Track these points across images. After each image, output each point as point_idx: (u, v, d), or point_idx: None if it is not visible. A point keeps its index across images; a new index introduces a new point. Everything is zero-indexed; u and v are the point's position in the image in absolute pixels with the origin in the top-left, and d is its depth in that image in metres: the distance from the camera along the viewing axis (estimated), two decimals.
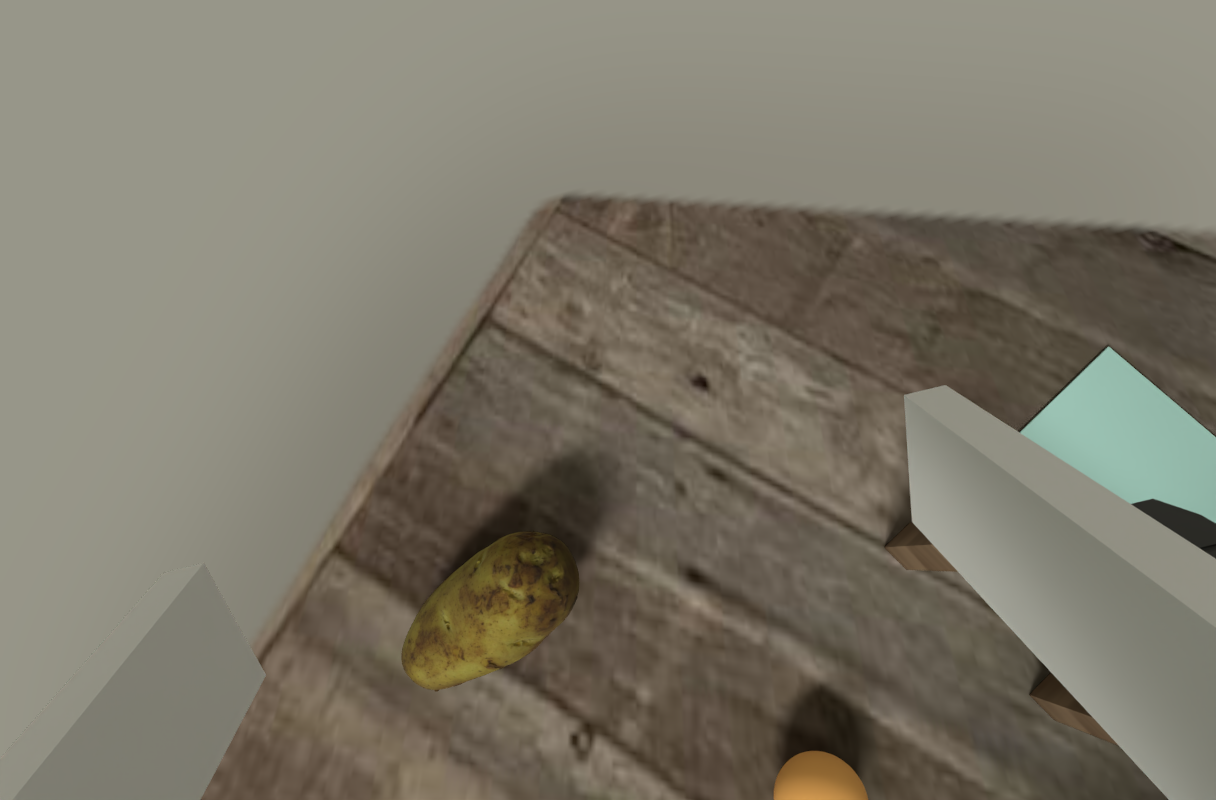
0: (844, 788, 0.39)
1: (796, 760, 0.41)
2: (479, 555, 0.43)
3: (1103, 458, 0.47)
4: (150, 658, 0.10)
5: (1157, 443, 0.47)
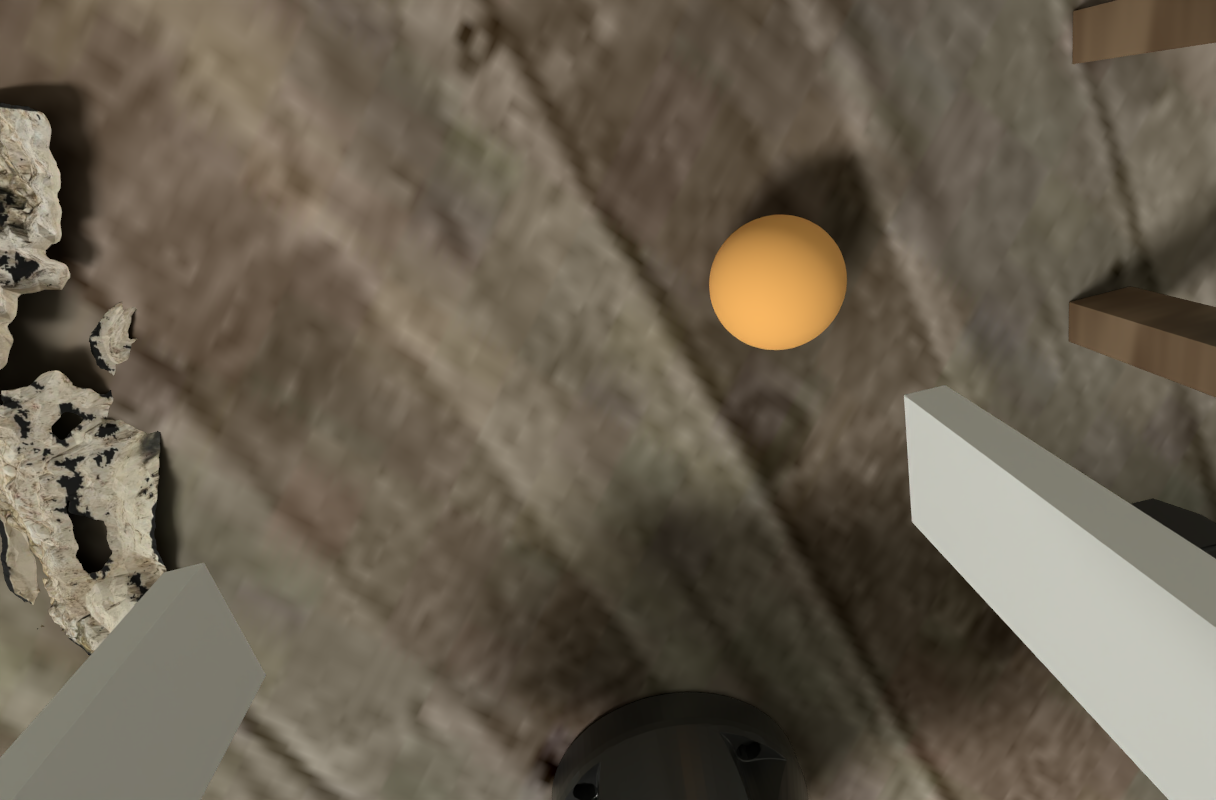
0: (834, 273, 0.26)
1: (782, 216, 0.27)
2: None
3: None
4: (150, 658, 0.10)
5: None
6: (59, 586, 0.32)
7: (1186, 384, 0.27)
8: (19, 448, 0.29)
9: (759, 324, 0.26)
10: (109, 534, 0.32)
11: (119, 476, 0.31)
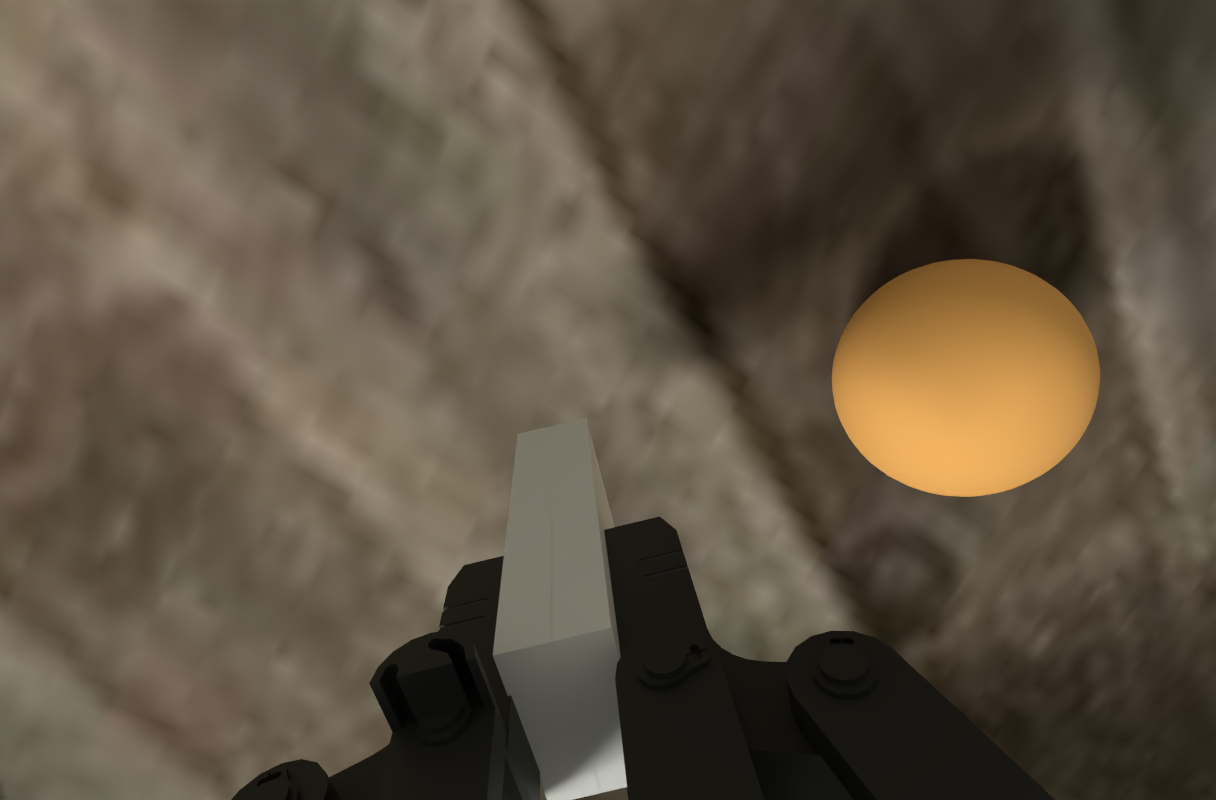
0: (1092, 374, 0.14)
1: (984, 264, 0.15)
2: None
3: None
4: None
5: None
6: None
7: None
8: None
9: (944, 464, 0.14)
10: None
11: None
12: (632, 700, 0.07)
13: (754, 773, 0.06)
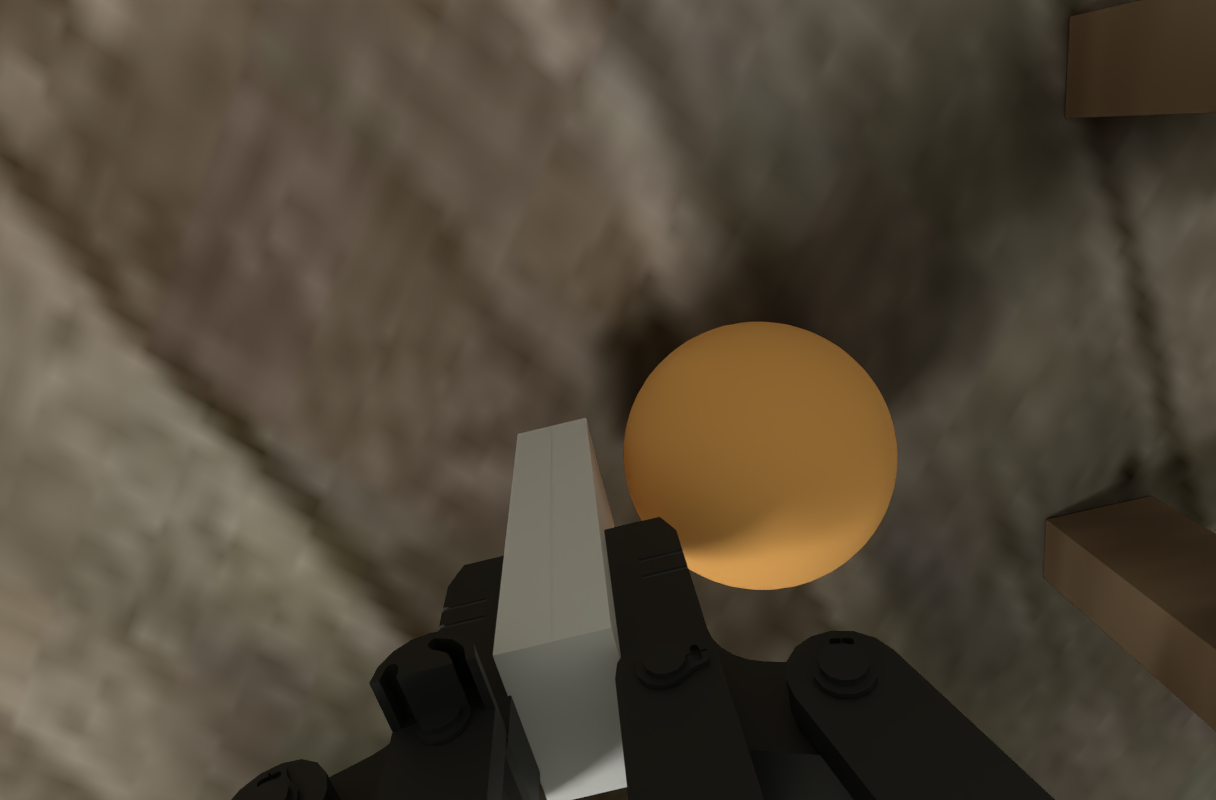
0: None
1: (727, 326, 0.14)
2: None
3: None
4: None
5: None
6: None
7: None
8: None
9: None
10: None
11: None
12: (632, 700, 0.07)
13: (754, 773, 0.06)
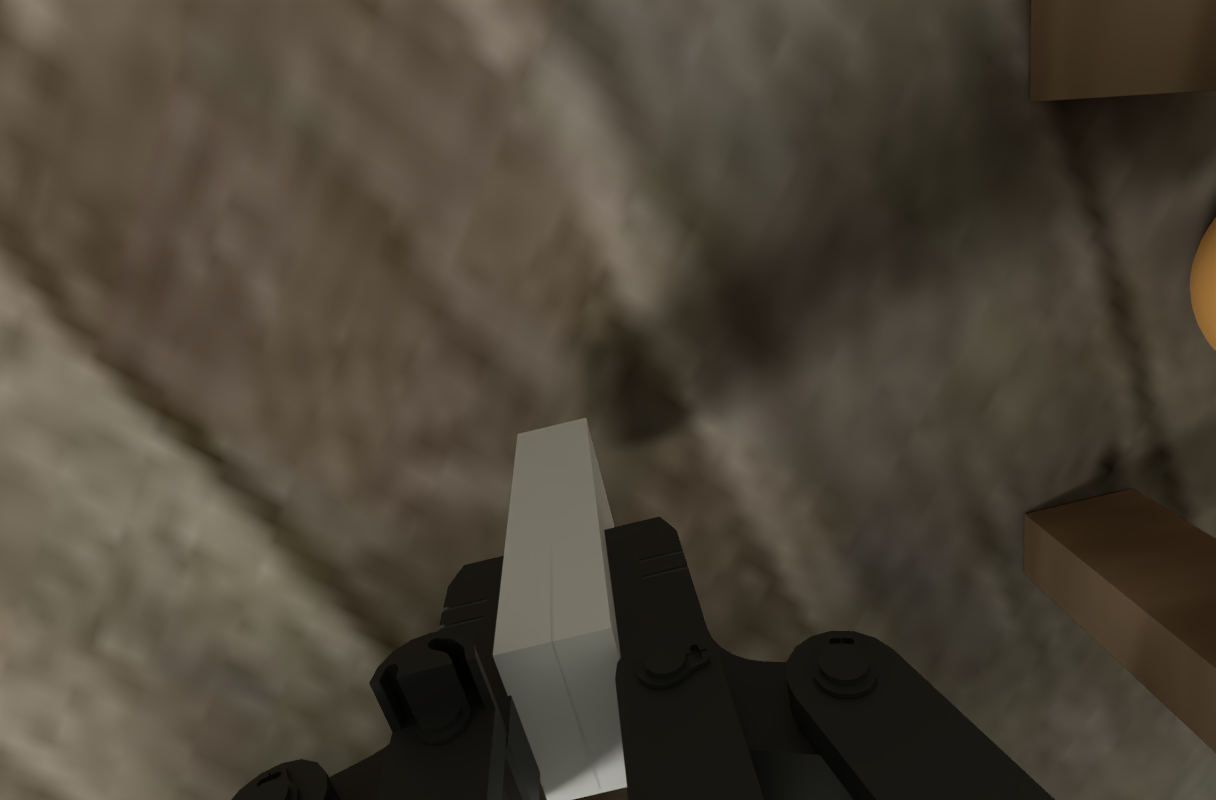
0: None
1: None
2: None
3: None
4: None
5: None
6: None
7: None
8: None
9: None
10: None
11: None
12: (632, 700, 0.07)
13: (754, 773, 0.06)
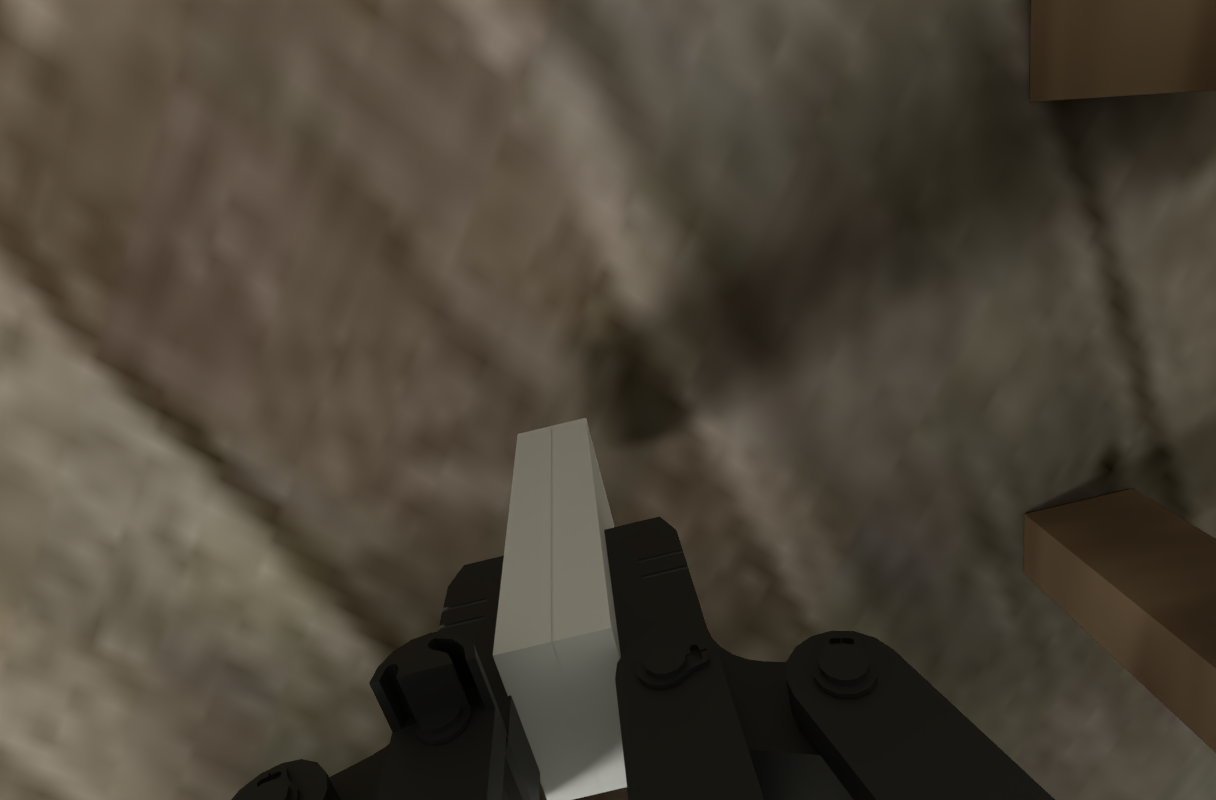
0: None
1: None
2: None
3: None
4: None
5: None
6: None
7: None
8: None
9: None
10: None
11: None
12: (632, 700, 0.07)
13: (754, 773, 0.06)
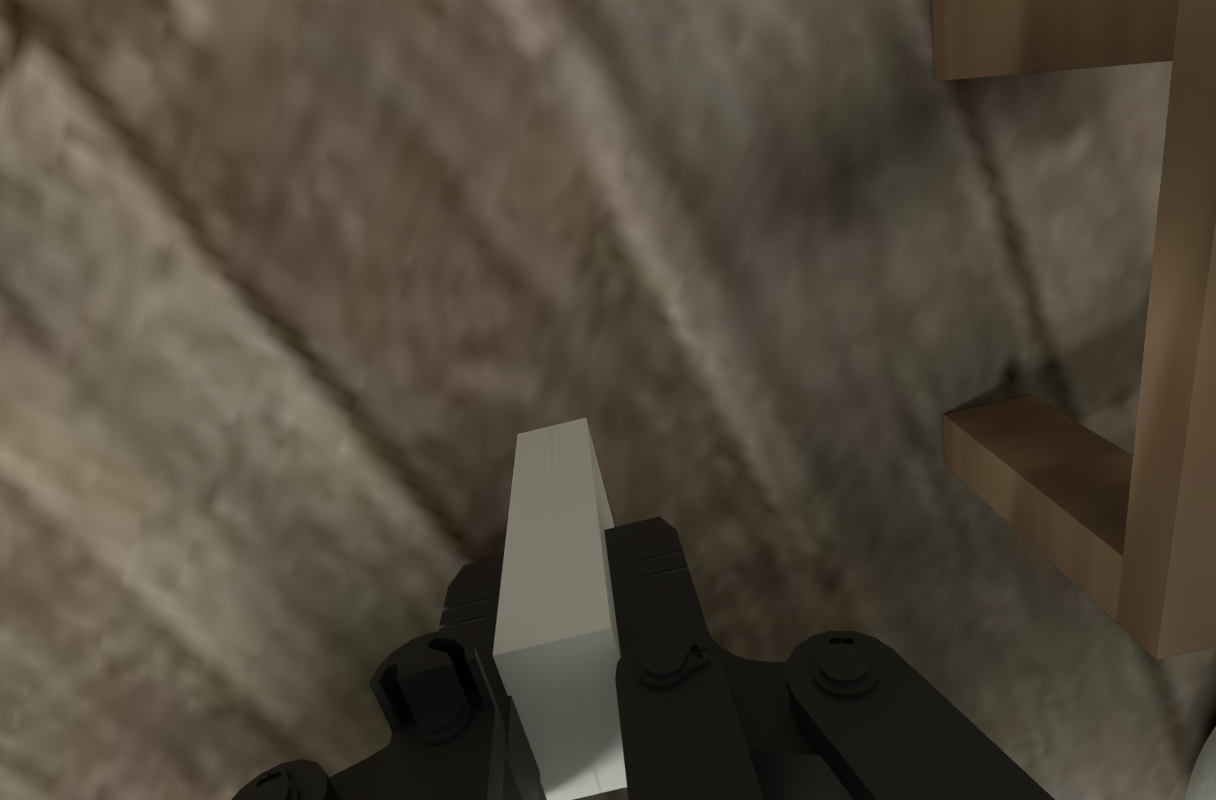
0: None
1: None
2: None
3: None
4: None
5: None
6: None
7: (1074, 581, 0.18)
8: None
9: None
10: None
11: None
12: (632, 700, 0.07)
13: (754, 773, 0.06)
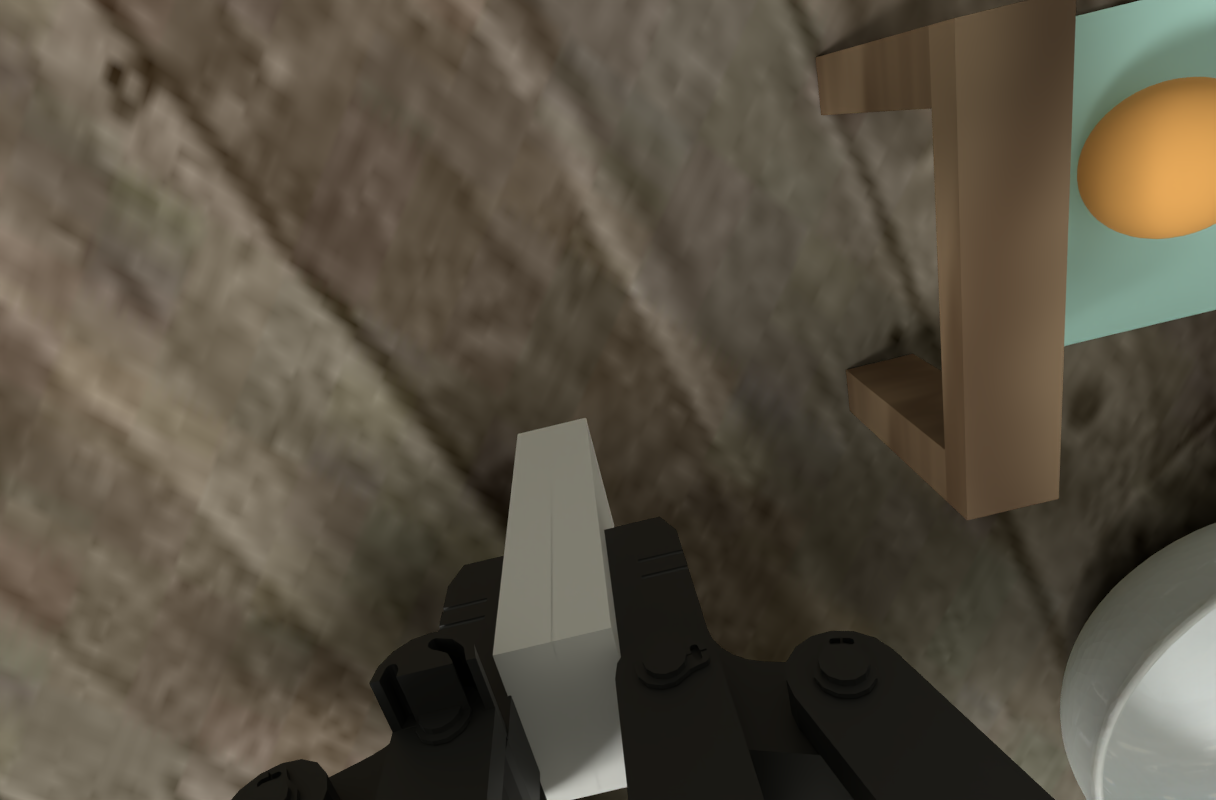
0: None
1: (1146, 88, 0.24)
2: None
3: None
4: None
5: None
6: None
7: (924, 478, 0.24)
8: None
9: None
10: None
11: None
12: (632, 700, 0.07)
13: (754, 773, 0.06)
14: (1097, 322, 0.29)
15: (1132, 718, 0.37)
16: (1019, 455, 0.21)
